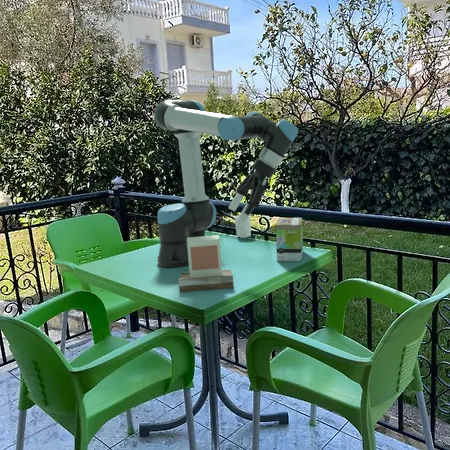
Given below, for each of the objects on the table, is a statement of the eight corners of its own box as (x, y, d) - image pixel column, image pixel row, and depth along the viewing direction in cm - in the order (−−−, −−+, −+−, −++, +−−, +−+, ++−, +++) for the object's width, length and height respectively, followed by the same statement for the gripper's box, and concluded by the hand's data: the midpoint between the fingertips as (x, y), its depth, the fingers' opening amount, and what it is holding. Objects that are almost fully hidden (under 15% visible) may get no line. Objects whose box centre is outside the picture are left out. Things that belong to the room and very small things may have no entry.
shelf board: (181, 278, 162) (180, 266, 161) (231, 274, 162) (230, 263, 161) (179, 292, 148) (178, 279, 147) (233, 288, 148) (232, 275, 147)
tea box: (302, 261, 172) (301, 224, 169) (276, 261, 174) (274, 224, 171) (303, 251, 187) (302, 216, 184) (279, 251, 189) (278, 217, 186)
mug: (208, 241, 215) (206, 221, 213) (204, 247, 203) (203, 227, 201) (191, 241, 216) (189, 222, 214) (187, 248, 204) (185, 228, 202)
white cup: (246, 233, 225) (245, 214, 223) (254, 236, 218) (253, 216, 216) (233, 236, 221) (231, 216, 219) (241, 239, 215) (239, 218, 213)
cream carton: (190, 275, 158) (187, 237, 155) (221, 273, 158) (219, 235, 155) (190, 281, 152) (186, 241, 149) (222, 279, 152) (219, 239, 149)
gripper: (288, 176, 144) (254, 231, 147) (265, 161, 167) (236, 209, 170) (269, 165, 141) (235, 222, 145) (248, 151, 164) (219, 200, 168)
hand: (235, 215), depth 158 cm, fingers open, 13 cm apart
